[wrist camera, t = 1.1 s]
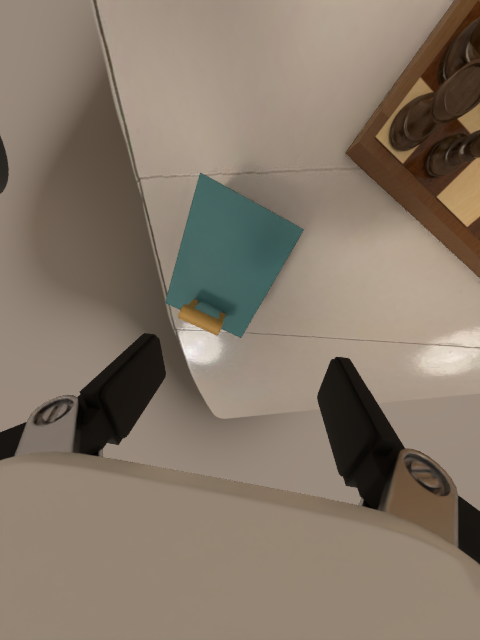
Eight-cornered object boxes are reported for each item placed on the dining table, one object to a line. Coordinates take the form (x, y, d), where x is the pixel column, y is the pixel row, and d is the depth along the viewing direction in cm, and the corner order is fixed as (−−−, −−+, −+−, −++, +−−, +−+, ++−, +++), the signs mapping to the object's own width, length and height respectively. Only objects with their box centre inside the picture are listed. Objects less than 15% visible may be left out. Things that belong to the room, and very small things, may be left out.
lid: (241, 335, 27) (236, 357, 22) (167, 300, 25) (147, 317, 21) (302, 229, 19) (313, 231, 15) (202, 174, 18) (182, 158, 14)
